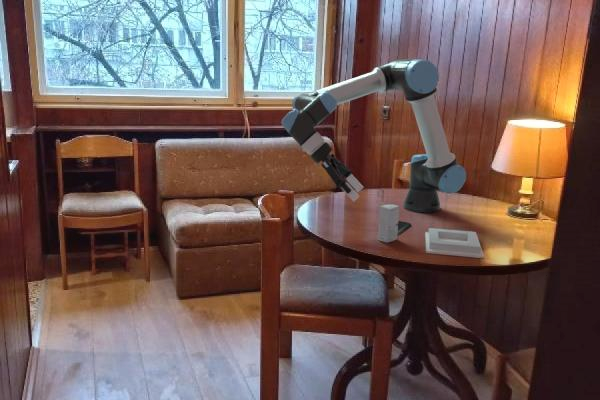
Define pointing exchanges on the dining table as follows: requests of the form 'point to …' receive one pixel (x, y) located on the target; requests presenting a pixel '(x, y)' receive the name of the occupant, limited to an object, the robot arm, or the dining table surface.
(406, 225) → the phone
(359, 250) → the dining table surface
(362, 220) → the dining table surface
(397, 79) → the robot arm
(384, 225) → the skincare box
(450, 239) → the socket stand
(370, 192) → the dining table surface
